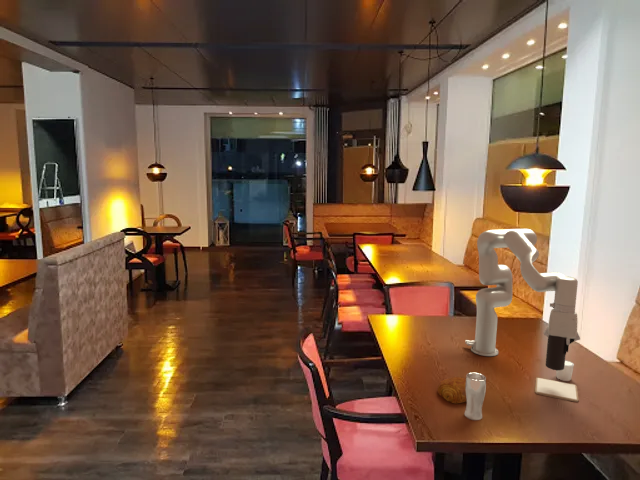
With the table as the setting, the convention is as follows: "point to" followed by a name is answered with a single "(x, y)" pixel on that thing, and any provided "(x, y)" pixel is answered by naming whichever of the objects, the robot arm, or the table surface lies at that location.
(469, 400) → the beer glass
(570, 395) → the plate
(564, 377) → the short white cylinder
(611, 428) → the table surface
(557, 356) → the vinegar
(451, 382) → the croissant
